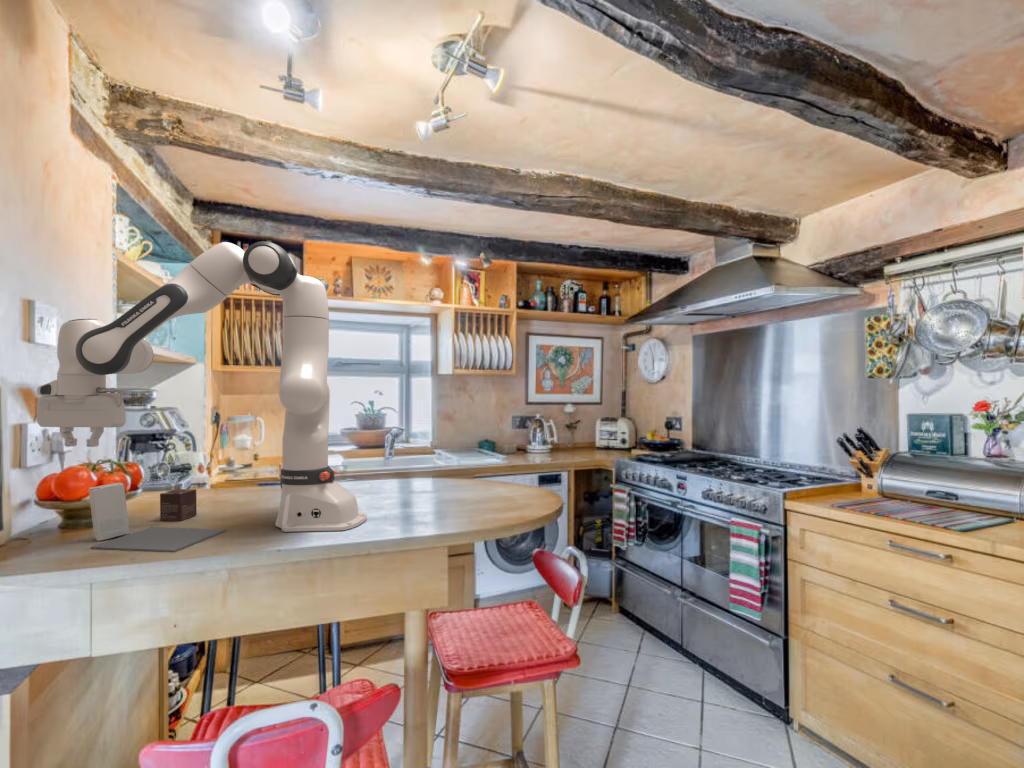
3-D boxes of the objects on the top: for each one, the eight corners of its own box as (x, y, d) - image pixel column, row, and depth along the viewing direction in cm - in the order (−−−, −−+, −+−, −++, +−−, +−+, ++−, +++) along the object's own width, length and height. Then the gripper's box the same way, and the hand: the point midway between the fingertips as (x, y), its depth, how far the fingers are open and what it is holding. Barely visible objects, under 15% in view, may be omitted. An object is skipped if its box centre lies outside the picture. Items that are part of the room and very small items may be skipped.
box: (197, 515, 139) (197, 489, 139) (180, 521, 133) (180, 493, 133) (176, 515, 139) (176, 488, 139) (159, 521, 133) (159, 493, 133)
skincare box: (125, 530, 122) (120, 481, 122) (130, 534, 119) (125, 483, 119) (92, 538, 117) (87, 487, 117) (97, 542, 115) (92, 489, 114)
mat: (225, 531, 124) (225, 529, 124) (174, 552, 108) (174, 550, 108) (151, 528, 126) (151, 526, 126) (90, 548, 110) (90, 546, 110)
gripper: (133, 387, 121) (133, 445, 121) (57, 387, 124) (57, 444, 124) (109, 387, 115) (109, 448, 115) (30, 387, 118) (29, 447, 118)
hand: (81, 446), depth 119 cm, fingers open, 4 cm apart
